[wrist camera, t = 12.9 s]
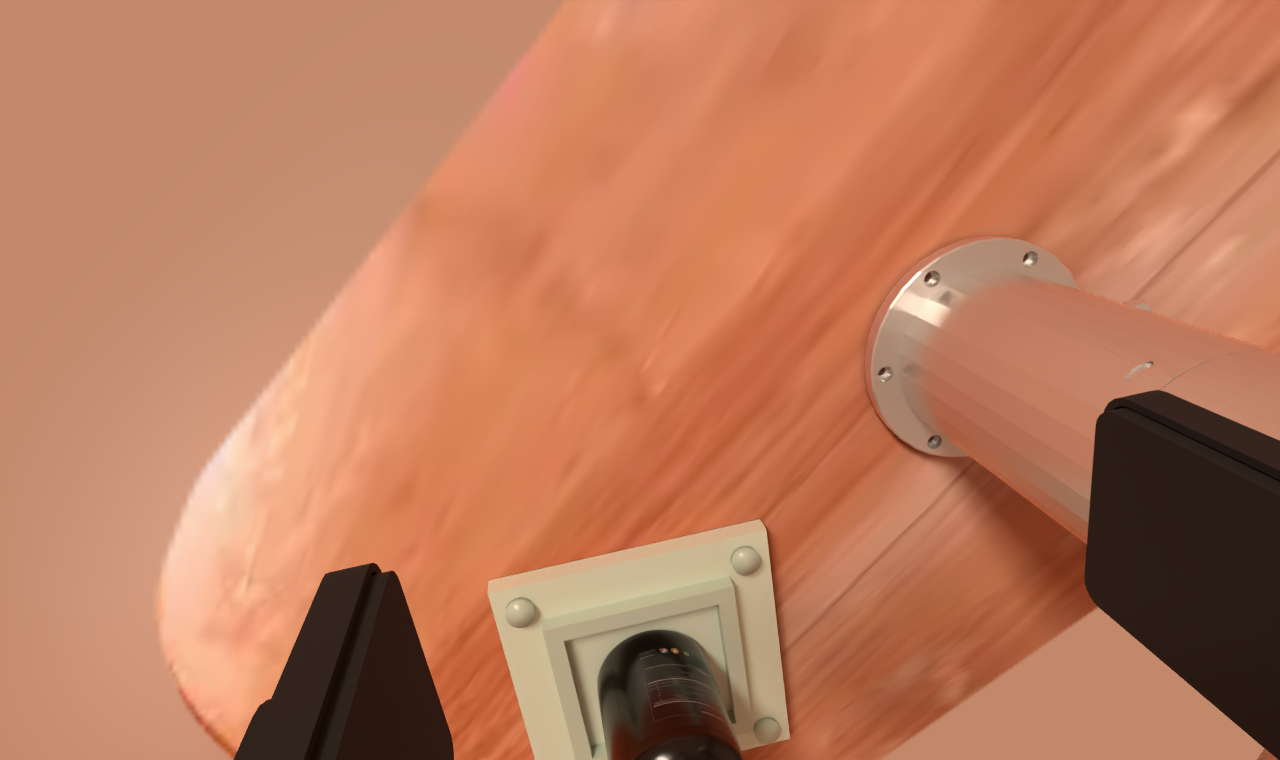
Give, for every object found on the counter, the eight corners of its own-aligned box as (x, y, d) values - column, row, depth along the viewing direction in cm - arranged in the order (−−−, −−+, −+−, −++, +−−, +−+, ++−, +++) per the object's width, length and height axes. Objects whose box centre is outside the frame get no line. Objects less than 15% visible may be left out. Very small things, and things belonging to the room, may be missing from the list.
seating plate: (760, 519, 43) (771, 539, 41) (783, 724, 49) (795, 751, 47) (488, 580, 42) (486, 604, 39) (546, 784, 47) (547, 814, 45)
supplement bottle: (690, 720, 46) (746, 916, 35) (584, 711, 44) (606, 912, 33) (721, 630, 44) (791, 806, 33) (611, 617, 42) (644, 797, 31)
